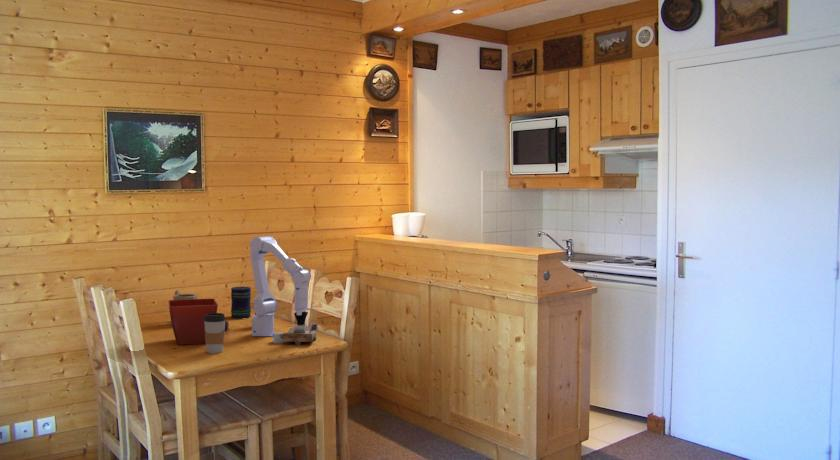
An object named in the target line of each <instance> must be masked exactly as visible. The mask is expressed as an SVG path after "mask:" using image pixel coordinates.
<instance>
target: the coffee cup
mask: <svg viewBox="0 0 840 460" xmlns="http://www.w3.org/2000/svg"><path fill="white" fill-rule="evenodd" d="M204 323H205V341H206V343H205V350H206V352H207V354H220V353H223V351H224V344H225V331H226V330H225V325H226V316H225V313H223V312H217V313H209V314H206V315H205V317H204Z"/></svg>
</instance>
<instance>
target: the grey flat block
mask: <svg viewBox="0 0 840 460" xmlns="http://www.w3.org/2000/svg"><path fill="white" fill-rule="evenodd" d="M318 331H319V330H318V323H317V322H313V323H312V324H310V325H308V327H305V333H295V325H294V326H293V327H290V328H289V330H288V331H287V332H282V333H283V341H284V343H285V342H290V343H291V342H292V343H293V342H295V343H294V345H295V346H300V345H302V343H301V342H303V343H306V342H307V343H308V342H310V343H311V342H313V341H316V340H317V333H318Z"/></svg>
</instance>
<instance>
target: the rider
mask: <svg viewBox="0 0 840 460" xmlns="http://www.w3.org/2000/svg"><path fill="white" fill-rule="evenodd" d="M294 326H295V333H305V328H306V323H305V324H297V323H296V324H295V325H294Z"/></svg>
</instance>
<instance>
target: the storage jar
mask: <svg viewBox="0 0 840 460" xmlns="http://www.w3.org/2000/svg"><path fill="white" fill-rule="evenodd" d="M230 291H231V293H230V296H231V297H230V299H231V307H230V313H231V314H230V315H231V316H230V318H231V319H233V318H235V320H244V319H243V318H247V319H250V318H251V314H252V313H251V312H252V306H251V300H252V287H250V286H235V287H234V286H233V287H230ZM249 317H250V318H249Z"/></svg>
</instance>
